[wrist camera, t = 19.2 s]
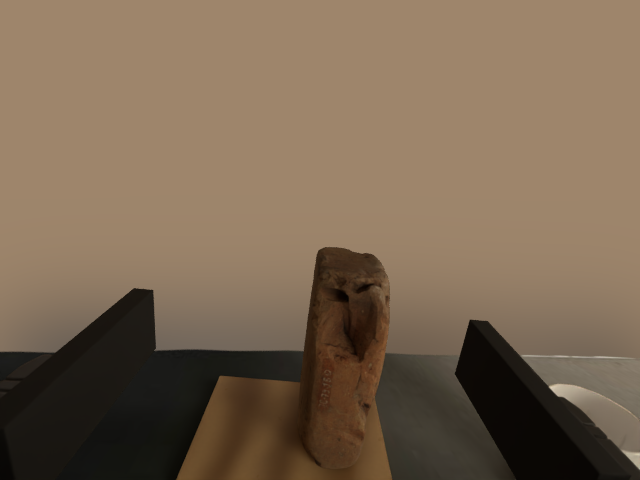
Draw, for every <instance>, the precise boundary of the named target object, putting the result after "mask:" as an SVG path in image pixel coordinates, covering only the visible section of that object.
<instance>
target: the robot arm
mask: <svg viewBox="0 0 640 480" xmlns="http://www.w3.org/2000/svg"><path fill="white" fill-rule="evenodd" d="M153 299H154V297H153V290H146V289H136V288H134V289H133V290H131V291H130V292H129V293H128V294H126V295H125V296H124V297H123V298H122V299H120V300H119V301H118V302H117V303H115V304H114V305H113V306H112V307H111V308H109V309H108V310H107V311H106V312H105V313H103V314H102V315H101V316H100V317H98V318H97V319H96V320H95V321H94V322H92V323H91V324H90V325H89V326H88V327H87V328H85V329H84V330H83V331H81V332H80V333H79V334H78V335H77V336H75V337H74V338H73V339H72V340H71V341H69V342H68V343H67V344H66V345H64V346H63V347H62V348H61V349H60V350H58V351H57V352H56V353H55V354H53V355H47V354H43V355H41V356H39V357H37V358H35V359H33V360H31V361H29V362H27V363H25V364H23V365H21V366H20V367H19V368H17V369H16V370H15V371H14V372H12V373H11V374H10V375H8V376H7V377H6V379H5V380H2V381H1V382H0V480H55V479H56V478H57V477H58V475H59V474H60V473H61V471H62V470H63V469H64V468H65V466H66V465H67V464H68V462H69V461H70V460H71V458H72V457H73V456H74V455H75V453H76V452H77V451H78V449H79V448H80V447H81V445H82V444H83V443H84V441H85V440H86V439H87V438H88V436H89V435H90V434H91V432H92V431H93V430H94V428H95V427H96V426H97V424H98V423H99V422H100V421H101V419H102V418H103V417H104V415H105V414H106V413H107V411H108V410H109V409H110V407H111V406H112V405H113V404H114V402H115V401H116V400H117V398H118V397H119V396H120V394H121V393H122V392H123V390H124V389H125V388H126V387H127V385H128V384H129V383H130V381H131V380H132V379H133V377H134V376H135V375H136V374H137V372H138V371H139V370H140V368H141V367H142V366H143V364H144V363H145V362H146V360H147V359H148V358H149V357H150V355H151V354H152V353H153V351H154V350H155V349H156V342H155V319H154V300H153ZM455 375H456V377H457V378H458V380H459V382H460V384H461V385H462V387H463V389H464V390H465V392H466V394H467V396H468V397H469V399H470V401H471V402H472V404H473V406H474V408H475V409H476V411H477V413H478V414H479V416H480V418H481V419H482V421H483V423H484V425H485V426H486V428H487V430H488V431H489V433H490V435H491V437H492V438H493V440H494V442H495V443H496V445H497V447H498V449H499V450H500V452H501V454H502V455H503V457H504V459H505V460H506V462H507V464H508V466H509V467H510V469H511V471H512V472H513V474H514V476H515V478H516V479H517V480H640V469H639V468H638V467H637V466H636V465H635V464H634V463H633V462H632V461H631V460H630V459H629V458H628V457H627V456H626V455H625V454H624V453H623V452H622V451H621V450H620V449H619V448H618V447H617V446H616V445H615V444H614V443H613V442H612V441H611V440H610V439H608V438H607V435H606V434H605V433H604V432H603V431H602V430H601V429H600V428H599V427H596V425H595V423H594V422H593V421H592V420H591V419H590V418H589V417H588V416H587V415H586V414H585V413H584V412H583V411H582V410H581V409H580V408H578V407H577V406H576V405H574V404H573V403H571V402H570V401H569V400H567V399H566V398H564V397H558V396H557V395H556V394H555V393H554V392H553V391H552V390H551V389H550V388H549V387H548V385H547V384H546V383H545V382H544V381H543V380H542V379H541V378H540V377H539V376H538V375H537V374H536V373H535V372H534V370H533V369H532V368H531V367H530V366H529V365H528V364H527V363H526V362H525V361H524V360H523V359H522V358H521V357H520V355H519V354H518V353H517V352H516V351H515V350H514V349H513V348H512V347H511V346H510V345H509V344H508V343H507V342H506V340H505V339H504V338H503V337H502V336H501V335H500V334H499V333H498V332H497V331H496V330H495V329H494V328H493V327H492V325H491V324H490V323H489V322H488V321H479V320H470V321H469V325H468V328H467V332H466V336H465V339H464V343H463V347H462V350H461V354H460V357H459V361H458V365H457V368H456V372H455Z"/></svg>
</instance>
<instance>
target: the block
mask: <svg viewBox="0 0 640 480" xmlns="http://www.w3.org/2000/svg"><path fill="white" fill-rule="evenodd" d="M389 299H390V288H389V280H388V276H387V274H386V273H385V271H384V268H383V266H382V264H381V262H380V261H379V260H378V259H377V258H376V257H375V256H374V255H372V254H368V253H364V254H360V253H356V252H352V251H350V250H347V249H344V248H337V247H336V248H335V247H325V248H323V249H320V250H319V251H318V254H317V257H316V264H315V270H314V280H313V286H312V292H311V300H310V307H309V314H308V322H307V330H306V338H305V346H304V354H303V363H302V371H301V381H300V391H299V403H298V420H297V427H298V431H299V437H300V440H301V443H302V445H303V448H304V449H305V451H306V453H307V454H308V455H309V456H310V457H311V458H313V459H314V460H315V463H316V464H317V465H318V466H319V467H321V468H327V469H338V468H347V467H350V466H352V465H353V464H355V463H356V461H357V459H358V457H359V456H360V453H361V449H362V446H363V442H364V436H365V434H366V418H367V416H368V413H369V410H370V408H371V405H372V402H373V400H374V397H375V395H376V391H377V387H378V384H379V380H380V376H381V372H382V367H383V363H384V358H385V351H386V344H387V338H388V329H389V318H390V307H389Z"/></svg>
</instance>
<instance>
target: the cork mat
mask: <svg viewBox="0 0 640 480" xmlns="http://www.w3.org/2000/svg"><path fill="white" fill-rule="evenodd" d="M299 391H300V382H288V381H276V380H264V379H252V378H240V377H228V376H220V377H219V379H218V382H217V384H216V386H215V389H214V391H213V394H212V396H211V398H210V401H209V403H208V405H207V408H206V410H205V413H204V415H203V417H202V420H201V422H200V425H199V427H198V429H197V432H196V434H195V436H194V439H193V441H192V444H191V446H190V448H189V451H188V453H187V455H186V458H185V460H184V463H183V465H182V467H181V470H180V472H179V475H178V477H177V479H176V480H392V477H391V472H390V467H389V463H388V458H387V453H386V449H385V444H384V440H383V435H382V430H381V426H380V421H379V416H378V412H377V407H376V402H375V398H374V400H373V402H372V405H371V408H370V410H369V413H368V416H367V418H366V434H365V436H364V442H363V446H362V449H361V453H360V456H359V457H358V459H357V461H356V463H355V464H353V465H352V466H350V467H347V468H338V469H327V468H321V467H319V466H318V465H317V464H316V463H315V460H314V459H313V458H311V457H310V456H309V455H308V454H307V453H306V451H305V449H304V448H303V445H302V443H301V440H300V437H299V431H298V427H297V420H298V403H299Z"/></svg>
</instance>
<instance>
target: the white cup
mask: <svg viewBox="0 0 640 480" xmlns="http://www.w3.org/2000/svg"><path fill="white" fill-rule="evenodd" d="M548 387H549V388H550V389H551V390H552V391H553V392H554V393H555V394H556V395H557V396H558V397H564V398H566V399H567V400H569V401H570V402H571V403H573V404H574V405H576V406H577V407H578V408H580V409H581V410H582V411H583V412H584V413H585V414H586V415H587V416H588V417H589V418H590V419H591V420H592V421H593V422H594V423H595V425H596V427H599V428H600V429H601V430H602V431H603V432H604V433H605V434H606V435H607V438H608V439H610V440H611V441H612V442H613V443H614V444H615V445H616V446H617V447H618V448H619V449H620V450H621V451H622V452H623V453H624V454H625V455H626V456H627V457H628V458H629V459H630V460H631V461H632V462H633V463H634V464H635V465H636V466H637V467H638V468H639V469H640V420H639V419H638V418H637V417H636V416H634V415H633V414H632V413H631V412H629V411H628V410H626V409H625V408H624V407H622V406H621V405H619V404H617V403H616V402H614V401H612V400H610V399H608V398H607V397H605V396H603V395H600V394H598V393H596V392H593V391H591V390H588V389H585V388H582V387H579V386H575V385H570V384H553V385H550V386H548Z"/></svg>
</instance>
